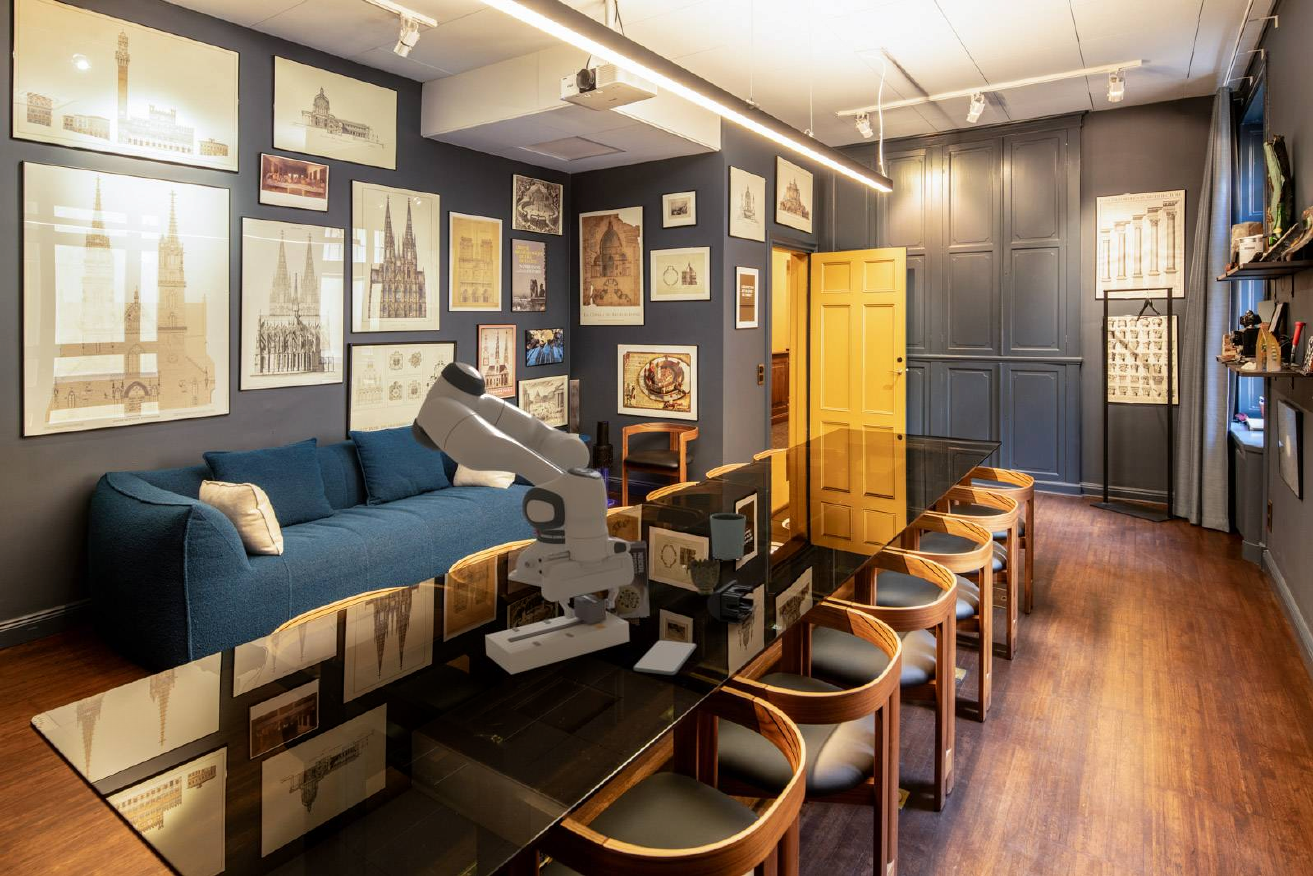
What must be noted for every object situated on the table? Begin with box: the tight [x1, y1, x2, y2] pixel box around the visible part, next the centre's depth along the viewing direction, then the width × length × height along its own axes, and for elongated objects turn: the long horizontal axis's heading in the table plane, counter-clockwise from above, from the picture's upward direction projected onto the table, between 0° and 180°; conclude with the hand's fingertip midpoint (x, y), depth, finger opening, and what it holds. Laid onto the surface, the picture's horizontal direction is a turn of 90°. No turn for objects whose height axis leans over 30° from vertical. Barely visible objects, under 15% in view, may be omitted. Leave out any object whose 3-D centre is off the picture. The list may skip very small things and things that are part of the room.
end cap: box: [707, 579, 755, 624], centre depth 169 cm, size 10×7×7 cm
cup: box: [689, 558, 721, 596], centre depth 184 cm, size 8×7×8 cm
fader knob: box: [573, 593, 607, 624], centre depth 157 cm, size 4×6×4 cm, turn 34°
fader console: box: [484, 610, 630, 675], centre depth 153 cm, size 26×12×4 cm, turn 124°
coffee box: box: [607, 540, 650, 619], centre depth 171 cm, size 9×6×16 cm
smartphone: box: [632, 640, 697, 676], centre depth 147 cm, size 8×1×15 cm
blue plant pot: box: [709, 512, 747, 560], centre depth 216 cm, size 10×10×12 cm
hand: (590, 612), depth 157 cm, fingers open, 8 cm apart
